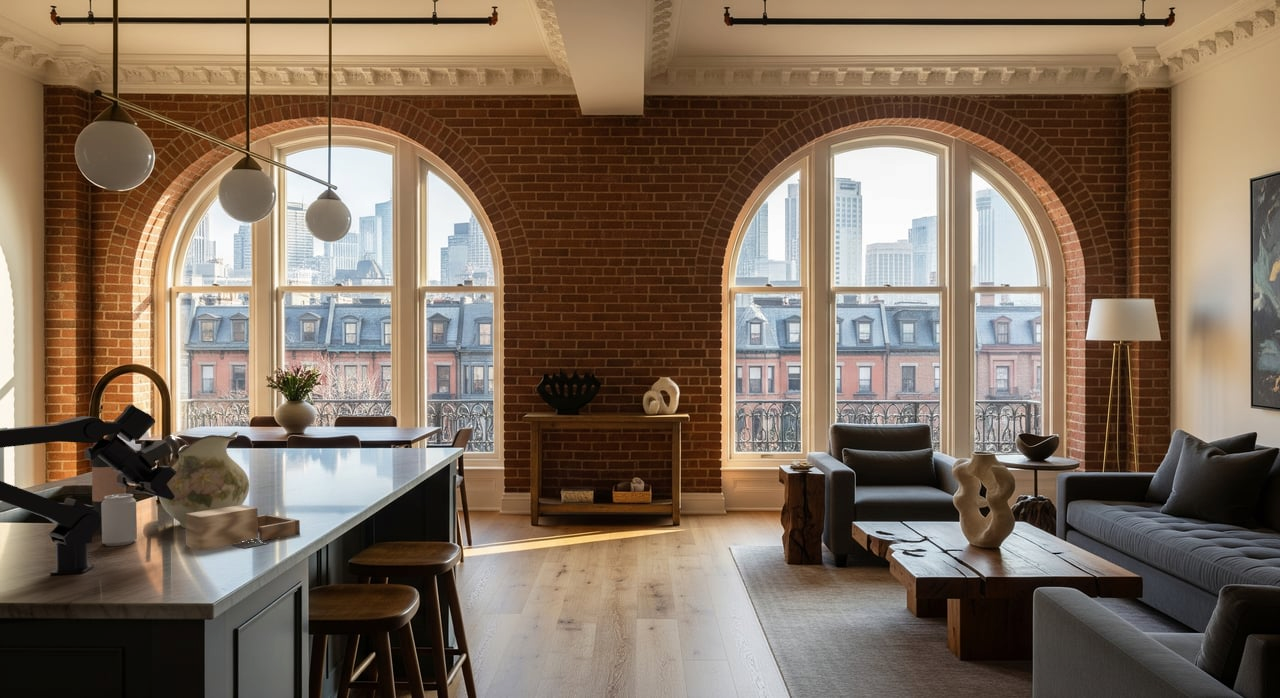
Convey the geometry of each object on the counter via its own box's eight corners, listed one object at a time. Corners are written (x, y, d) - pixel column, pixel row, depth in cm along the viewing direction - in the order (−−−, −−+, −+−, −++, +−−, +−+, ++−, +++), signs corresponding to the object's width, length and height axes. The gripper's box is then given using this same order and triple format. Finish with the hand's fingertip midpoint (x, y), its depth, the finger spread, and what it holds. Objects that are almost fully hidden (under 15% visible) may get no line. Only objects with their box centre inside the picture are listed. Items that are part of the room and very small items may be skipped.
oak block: (201, 550, 209) (201, 517, 209) (186, 546, 214) (185, 513, 214) (258, 539, 220) (257, 507, 220) (241, 536, 225) (241, 504, 225)
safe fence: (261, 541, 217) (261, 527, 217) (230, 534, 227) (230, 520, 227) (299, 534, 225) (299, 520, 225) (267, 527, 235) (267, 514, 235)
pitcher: (248, 527, 235) (245, 433, 235) (148, 536, 226) (145, 439, 226) (251, 513, 256) (249, 428, 256) (160, 522, 247) (157, 433, 247)
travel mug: (88, 535, 229) (87, 458, 229) (98, 529, 236) (96, 455, 236) (121, 533, 231) (120, 457, 231) (130, 527, 238) (128, 453, 238)
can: (121, 547, 214) (119, 498, 214) (94, 546, 216) (93, 497, 216) (144, 540, 221) (143, 492, 221) (118, 539, 223) (117, 492, 223)
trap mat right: (244, 548, 210) (244, 547, 210) (231, 545, 213) (231, 544, 213) (268, 543, 214) (268, 542, 214) (255, 540, 218) (255, 540, 218)
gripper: (166, 431, 198) (215, 474, 207) (130, 428, 209) (178, 468, 218) (129, 470, 192) (182, 513, 201) (94, 465, 203) (145, 505, 212)
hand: (172, 498), depth 208 cm, fingers closed
